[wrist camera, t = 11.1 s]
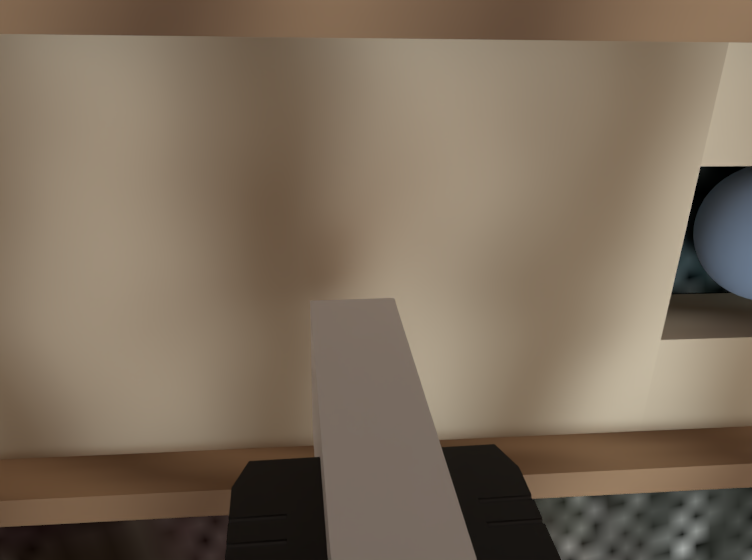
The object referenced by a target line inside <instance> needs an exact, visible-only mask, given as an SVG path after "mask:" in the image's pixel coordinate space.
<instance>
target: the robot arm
mask: <svg viewBox="0 0 752 560" xmlns="http://www.w3.org/2000/svg"><path fill="white" fill-rule="evenodd" d="M310 316H311V369H312V421H313V441H314V456H315V457H308V458H291V459H274V460H258V461H249V462H248V463H247V465H246V466H245V468H244V469H243V471H242V472H241V474H240V475H239V477H238V478H237V480H236V481H235V483H234V485H233V486H232V488H231V499H230V510H229V524H228V532H227V543H226V544H227V548H226V554H225V560H561V559H560V556H559V554H558V552H557V550H556V548H555V545H554V543H553V541H552V539H551V537H550V534H549V532H548V530H547V528H546V525H545V524H543V523H542V517H541V514H540V512H539V510H538V508H537V506H536V503H535V501H534V500H532V497H531V492H530V490H529V488H528V486H527V483H526V481H525V479H524V477H523V475H522V472H521V470H520V468H519V466H518V465H516V464H515V463H514V462H513V461H512V460H511V459H510V458H509V457H508V456H507V455H506V454H505V453H504V452H502V451H501V450H500V449H499V448H498V447H497V446H496V445H495V444H486V445H470V446H453V447H441V445H440V441H439V438H438V435H437V432H436V429H435V426H434V422H433V419H432V416H431V413H430V410H429V407H428V403H427V400H426V397H425V394H424V391H423V388H422V384H421V381H420V378H419V375H418V372H417V369H416V366H415V362H414V359H413V356H412V353H411V350H410V347H409V343H408V340H407V337H406V334H405V331H404V328H403V324H402V321H401V318H400V315H399V312H398V309H397V305H396V302H395V299H394V298H375V299H346V300H316V301H310Z"/></svg>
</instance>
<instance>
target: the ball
mask: <svg viewBox="0 0 752 560" xmlns="http://www.w3.org/2000/svg"><path fill="white" fill-rule="evenodd" d="M693 239H694V247H695V250H696V254H697V257H698V259H699V261H700V263H701V265H702V266H703V268H704V270H705V271H706V272H707V274H708V275H709V276H710V277H711V278H712V279H713V280H714V281H715V282H716V283H717V284H719V285H720V286H721V287H723V288H724V289H726V290H727V291H729V292H731V293H733V294H735V295H738V296H741V297H744V298H747V299H751V300H752V166H750V167H747V168H744V169H741V170H739V171H737V172H735V173H733V174H731V175H729V176H728V177H726V178H724V179H723V180H722V181H721V182H719V183H718V184H717V185H716V186H715V187H714V188H713V189H712V190H711V191H710V192H709V193H708V195H707V196H706V197H705V199H704V200H703V202H702V204H701V206H700V207H699V209H698V212H697V215H696V218H695V222H694V231H693Z"/></svg>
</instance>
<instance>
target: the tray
mask: <svg viewBox="0 0 752 560" xmlns="http://www.w3.org/2000/svg"><path fill="white" fill-rule="evenodd" d="M700 166H752V0H0V527H12V526H30V525H49V524H68V523H87V522H105V521H124V520H143V519H162V518H180V517H199V516H218V515H229V510H230V499H231V488H232V486H233V485H234V483H235V481H236V480H237V478H238V477H239V475H240V474H241V472H242V471H243V469H244V468H245V466H246V465H247V463H248V462H249V461H258V460H274V459H291V458H308V457H315V456H314V441H313V421H312V369H311V316H310V301H316V300H346V299H375V298H394V299H395V302H396V305H397V309H398V312H399V315H400V318H401V321H402V324H403V328H404V331H405V334H406V337H407V340H408V343H409V347H410V350H411V353H412V356H413V359H414V362H415V366H416V369H417V372H418V375H419V378H420V381H421V384H422V388H423V391H424V394H425V397H426V400H427V403H428V407H429V410H430V413H431V416H432V419H433V422H434V426H435V429H436V432H437V435H438V438H439V441H440V445H441V447H453V446H470V445H486V444H495V445H496V446H497V447H498V448H499V449H500V450H501V451H502V452H504V453H505V454H506V455H507V456H508V457H509V458H510V459H511V460H512V461H513V462H514V463H515V464H516V465H518V466H519V468H520V470H521V472H522V475H523V477H524V479H525V481H526V483H527V486H528V488H529V490H530V492H531V497H532V499H537V498H556V497H574V496H593V495H612V494H631V493H649V492H668V491H687V490H706V489H724V488H743V487H752V300H751V299H747V298H744V297H741V296H738V295H735V294H733V293H708V294H671V293H672V288H673V284H674V280H675V275H676V271H677V267H678V262H679V258H680V254H681V249H682V245H683V241H684V236H685V232H686V227H687V223H688V219H689V214H690V210H691V206H692V201H693V197H694V193H695V188H696V184H697V180H698V175H699V171H700Z"/></svg>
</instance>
